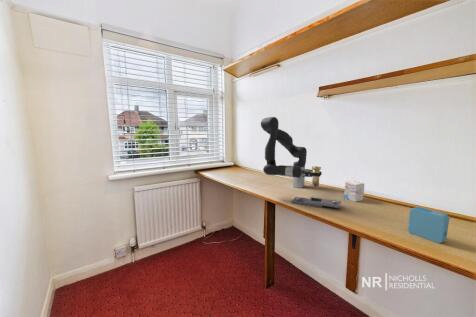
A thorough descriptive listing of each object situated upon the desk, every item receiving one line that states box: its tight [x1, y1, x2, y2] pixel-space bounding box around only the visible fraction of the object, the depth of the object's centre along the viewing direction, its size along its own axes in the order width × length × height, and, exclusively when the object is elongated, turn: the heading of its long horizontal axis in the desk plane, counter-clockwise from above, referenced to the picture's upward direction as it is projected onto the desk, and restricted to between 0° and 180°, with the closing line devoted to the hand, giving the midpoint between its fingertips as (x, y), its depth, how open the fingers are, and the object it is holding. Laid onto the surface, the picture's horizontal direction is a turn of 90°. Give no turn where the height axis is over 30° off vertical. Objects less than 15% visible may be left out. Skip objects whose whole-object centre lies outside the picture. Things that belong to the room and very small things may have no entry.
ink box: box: [343, 178, 365, 202], centre depth 139 cm, size 9×8×13 cm
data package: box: [407, 206, 450, 244], centre depth 91 cm, size 12×4×12 cm, turn 30°
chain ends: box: [291, 196, 342, 209], centre depth 131 cm, size 28×9×4 cm, turn 61°
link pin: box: [311, 166, 322, 188], centre depth 129 cm, size 5×5×12 cm
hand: (320, 174), depth 128 cm, fingers closed on link pin, 4 cm apart
